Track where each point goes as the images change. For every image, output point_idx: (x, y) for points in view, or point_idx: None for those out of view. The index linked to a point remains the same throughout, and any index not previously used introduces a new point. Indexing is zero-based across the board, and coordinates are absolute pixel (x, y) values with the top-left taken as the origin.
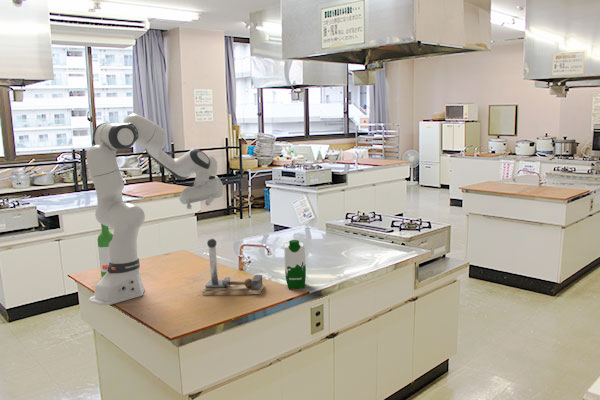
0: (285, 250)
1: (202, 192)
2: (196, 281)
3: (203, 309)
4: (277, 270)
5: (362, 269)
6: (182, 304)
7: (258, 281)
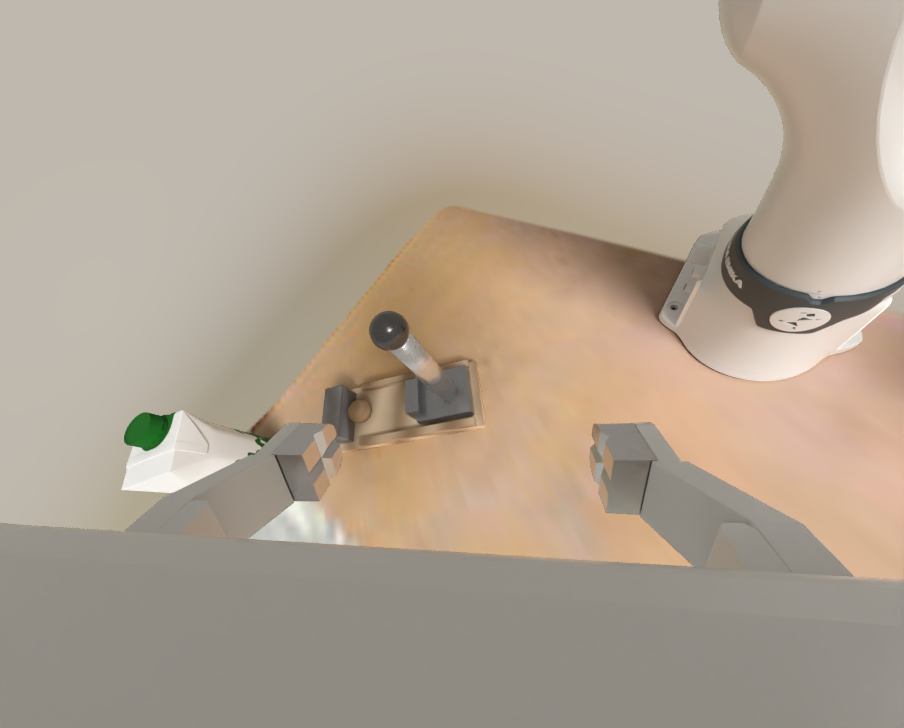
0: (192, 415)
1: (238, 662)
2: (562, 480)
3: (438, 293)
4: None
5: None
6: (497, 301)
7: (326, 390)
